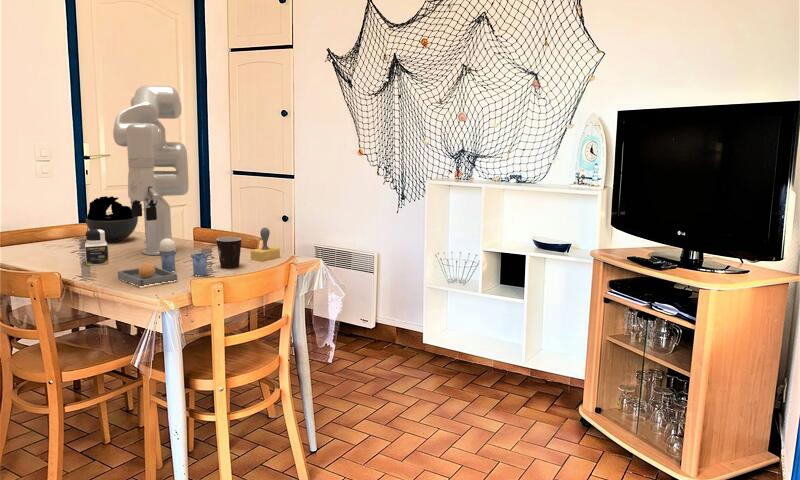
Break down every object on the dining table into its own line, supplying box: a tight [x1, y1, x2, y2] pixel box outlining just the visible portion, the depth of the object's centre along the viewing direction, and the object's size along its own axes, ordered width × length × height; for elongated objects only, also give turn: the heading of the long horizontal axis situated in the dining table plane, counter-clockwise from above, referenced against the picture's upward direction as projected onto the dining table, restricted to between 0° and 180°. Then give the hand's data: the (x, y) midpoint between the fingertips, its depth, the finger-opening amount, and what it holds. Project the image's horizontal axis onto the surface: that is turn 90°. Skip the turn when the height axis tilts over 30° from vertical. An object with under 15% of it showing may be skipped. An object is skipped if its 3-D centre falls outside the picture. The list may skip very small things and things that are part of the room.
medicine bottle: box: [84, 229, 110, 266], centre depth 230 cm, size 7×7×12 cm
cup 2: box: [190, 252, 209, 276], centre depth 215 cm, size 4×4×7 cm
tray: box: [117, 265, 178, 286], centre depth 208 cm, size 16×12×2 cm
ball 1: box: [138, 262, 156, 278], centre depth 207 cm, size 5×5×5 cm
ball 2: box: [160, 238, 176, 253], centre depth 219 cm, size 5×5×5 cm
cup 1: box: [159, 250, 177, 273], centre depth 220 cm, size 4×4×7 cm
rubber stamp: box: [250, 227, 281, 263], centre depth 242 cm, size 10×6×12 cm, turn 145°
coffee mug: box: [215, 236, 242, 270], centre depth 227 cm, size 12×9×10 cm
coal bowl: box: [85, 195, 139, 242], centre depth 270 cm, size 20×20×19 cm
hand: (144, 218), depth 204 cm, fingers open, 9 cm apart
